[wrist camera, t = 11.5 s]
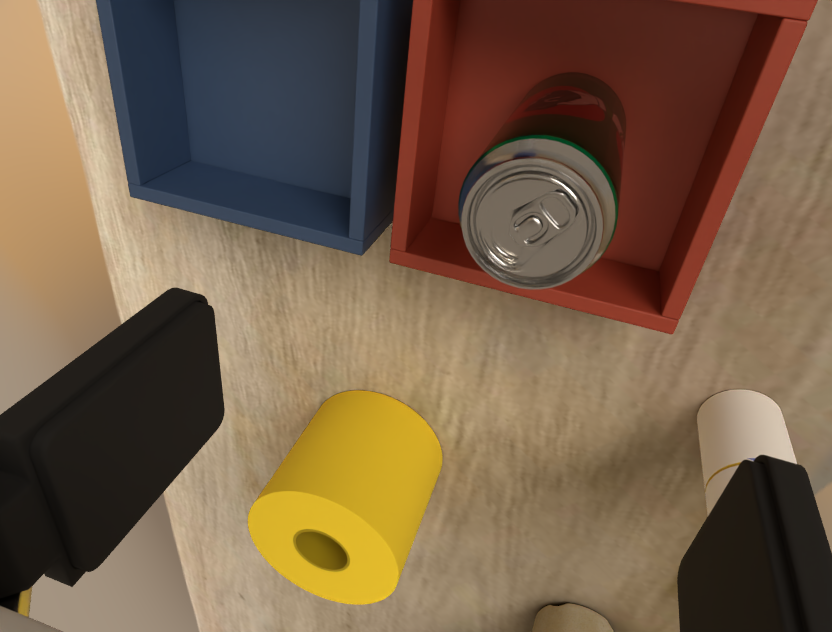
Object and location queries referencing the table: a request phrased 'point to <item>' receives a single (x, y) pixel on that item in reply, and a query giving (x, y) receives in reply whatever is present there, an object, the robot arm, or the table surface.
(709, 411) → the tube
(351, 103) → the blue bin
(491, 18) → the red bin
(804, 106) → the table surface
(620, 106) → the soda can
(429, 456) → the tape roll
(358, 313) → the table surface
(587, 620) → the flower pot
